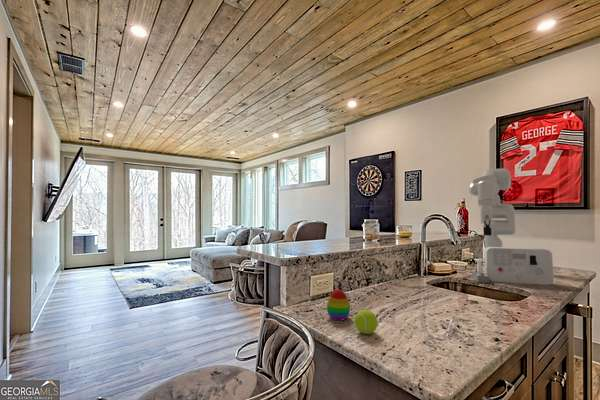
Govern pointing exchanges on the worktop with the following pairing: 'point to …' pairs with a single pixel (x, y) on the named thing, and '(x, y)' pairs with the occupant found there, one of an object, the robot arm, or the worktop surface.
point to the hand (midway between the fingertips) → (487, 235)
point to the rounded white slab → (519, 265)
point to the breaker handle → (479, 266)
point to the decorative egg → (338, 305)
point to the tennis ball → (366, 321)
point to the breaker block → (480, 277)
